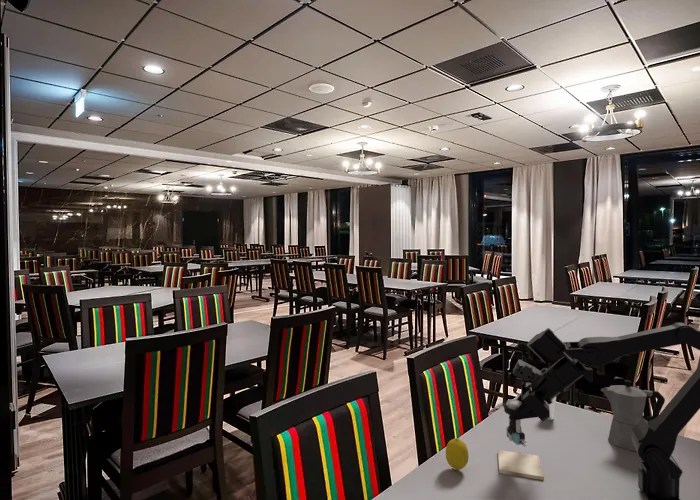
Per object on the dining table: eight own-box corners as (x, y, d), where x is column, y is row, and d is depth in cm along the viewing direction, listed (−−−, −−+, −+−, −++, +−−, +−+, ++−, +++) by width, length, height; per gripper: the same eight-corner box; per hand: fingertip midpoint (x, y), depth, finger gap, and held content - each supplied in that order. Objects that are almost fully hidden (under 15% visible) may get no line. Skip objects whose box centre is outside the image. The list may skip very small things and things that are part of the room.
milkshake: (535, 416, 132) (535, 386, 132) (547, 413, 135) (547, 383, 134) (547, 422, 128) (548, 391, 128) (559, 419, 131) (559, 388, 130)
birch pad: (538, 458, 107) (538, 455, 107) (543, 480, 97) (543, 476, 97) (497, 452, 110) (497, 449, 110) (499, 472, 100) (499, 469, 100)
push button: (534, 446, 101) (533, 407, 100) (515, 450, 100) (514, 410, 99) (517, 433, 107) (516, 396, 107) (499, 436, 106) (498, 399, 106)
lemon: (452, 477, 98) (452, 445, 98) (441, 465, 103) (441, 434, 103) (472, 474, 100) (473, 442, 99) (460, 462, 105) (461, 431, 105)
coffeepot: (605, 447, 113) (606, 383, 112) (595, 432, 122) (596, 372, 121) (671, 456, 108) (672, 389, 108) (656, 440, 117) (657, 378, 117)
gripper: (533, 343, 110) (490, 378, 115) (533, 361, 93) (483, 402, 98) (565, 375, 107) (520, 410, 112) (572, 400, 90) (518, 441, 95)
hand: (510, 414), depth 104 cm, fingers closed on push button, 5 cm apart
